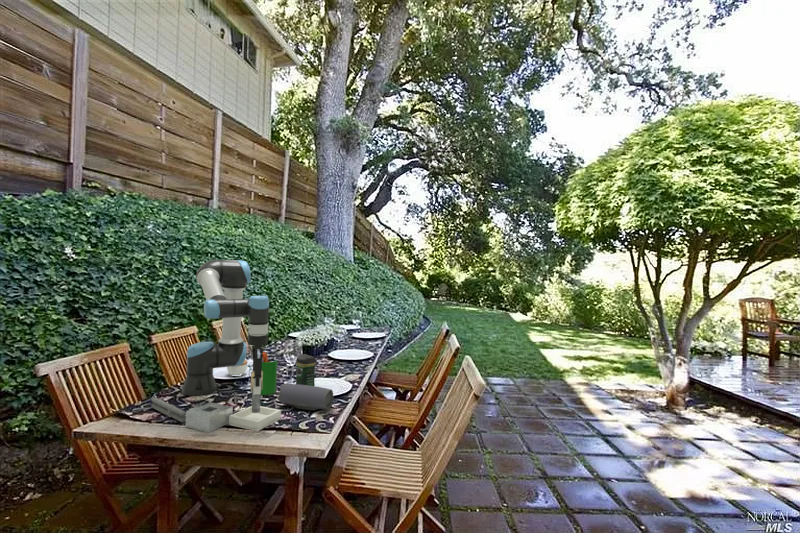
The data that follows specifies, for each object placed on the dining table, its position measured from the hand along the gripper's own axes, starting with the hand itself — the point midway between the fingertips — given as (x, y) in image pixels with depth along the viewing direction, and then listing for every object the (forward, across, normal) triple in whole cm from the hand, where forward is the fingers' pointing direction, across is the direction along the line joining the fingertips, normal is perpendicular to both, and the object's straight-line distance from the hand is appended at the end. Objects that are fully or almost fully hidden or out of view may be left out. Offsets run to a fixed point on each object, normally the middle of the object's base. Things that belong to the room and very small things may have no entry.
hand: (256, 392), depth 165 cm
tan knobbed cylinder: (+8, 0, 0) cm, 8 cm away
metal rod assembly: (+12, -19, -33) cm, 40 cm away
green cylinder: (+12, -37, +7) cm, 39 cm away
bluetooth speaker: (+12, -9, +22) cm, 27 cm away
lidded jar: (+12, -72, -5) cm, 73 cm away
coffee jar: (+12, -31, +25) cm, 42 cm away
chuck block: (+12, -3, -17) cm, 21 cm away
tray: (+12, 0, 0) cm, 12 cm away
